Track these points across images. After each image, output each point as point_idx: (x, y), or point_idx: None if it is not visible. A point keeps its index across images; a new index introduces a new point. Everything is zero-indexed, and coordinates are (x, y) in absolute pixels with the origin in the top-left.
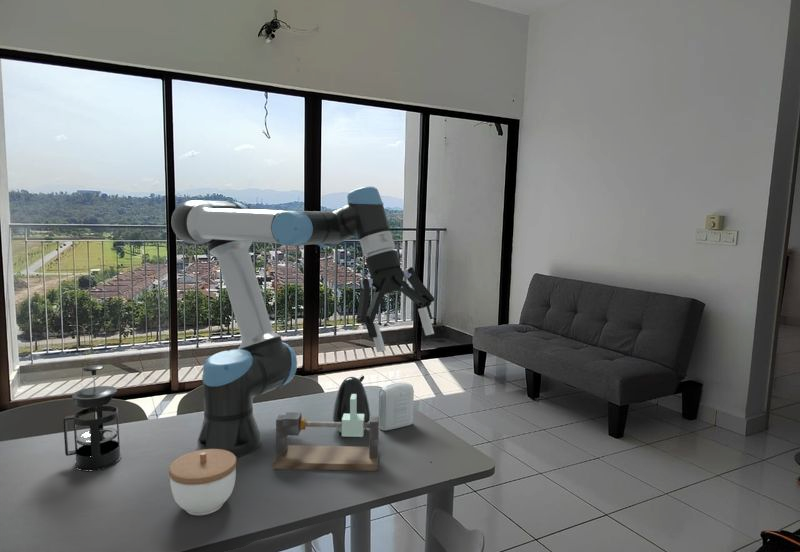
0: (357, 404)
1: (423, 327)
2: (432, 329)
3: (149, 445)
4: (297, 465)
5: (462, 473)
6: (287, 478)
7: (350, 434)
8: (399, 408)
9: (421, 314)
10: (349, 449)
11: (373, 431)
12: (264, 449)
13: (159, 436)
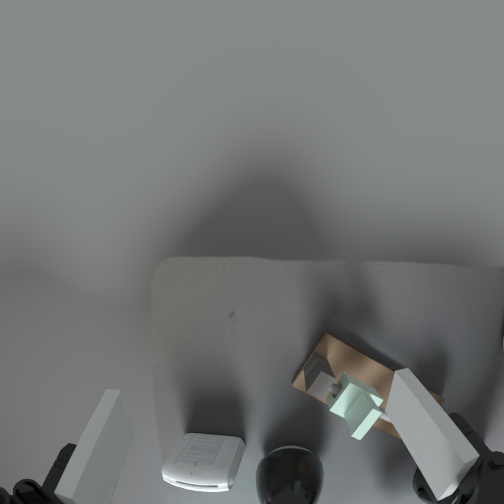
0: (293, 472)
1: (125, 454)
2: (103, 402)
3: None
4: None
5: (210, 258)
6: (438, 364)
7: (363, 383)
8: (205, 450)
9: (102, 495)
10: None
11: (326, 369)
12: None
13: None
